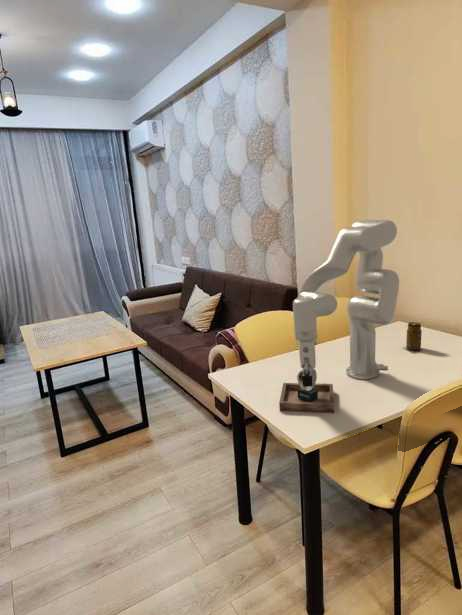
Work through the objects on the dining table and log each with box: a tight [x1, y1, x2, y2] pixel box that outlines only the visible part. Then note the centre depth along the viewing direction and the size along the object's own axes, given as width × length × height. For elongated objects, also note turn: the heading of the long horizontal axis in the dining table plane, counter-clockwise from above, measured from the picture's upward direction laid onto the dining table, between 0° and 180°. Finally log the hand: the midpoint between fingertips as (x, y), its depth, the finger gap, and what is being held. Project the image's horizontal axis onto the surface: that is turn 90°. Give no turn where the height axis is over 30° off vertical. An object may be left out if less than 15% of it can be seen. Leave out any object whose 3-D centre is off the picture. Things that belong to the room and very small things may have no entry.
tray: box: [278, 382, 335, 414], centre depth 144 cm, size 18×16×3 cm
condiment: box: [401, 321, 428, 354], centre depth 183 cm, size 7×8×12 cm
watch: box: [296, 368, 318, 402], centre depth 143 cm, size 6×8×11 cm
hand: (308, 379), depth 143 cm, fingers open, 9 cm apart
